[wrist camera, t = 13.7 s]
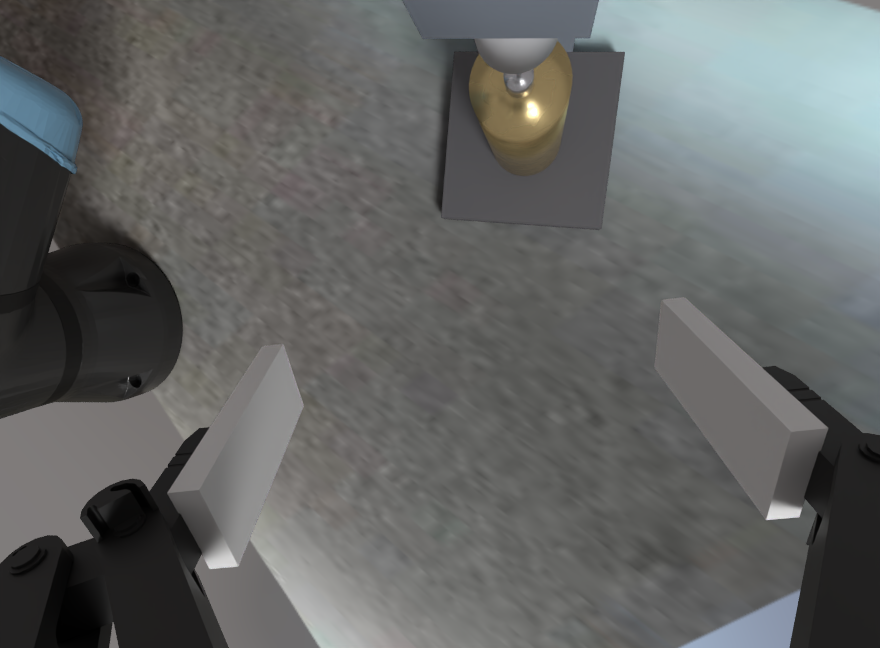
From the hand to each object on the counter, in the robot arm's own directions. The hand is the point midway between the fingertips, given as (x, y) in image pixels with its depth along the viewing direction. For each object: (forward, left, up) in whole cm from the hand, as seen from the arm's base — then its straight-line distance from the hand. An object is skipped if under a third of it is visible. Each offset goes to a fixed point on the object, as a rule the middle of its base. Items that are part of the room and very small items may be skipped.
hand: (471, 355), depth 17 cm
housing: (0, +12, -21) cm, 24 cm away
